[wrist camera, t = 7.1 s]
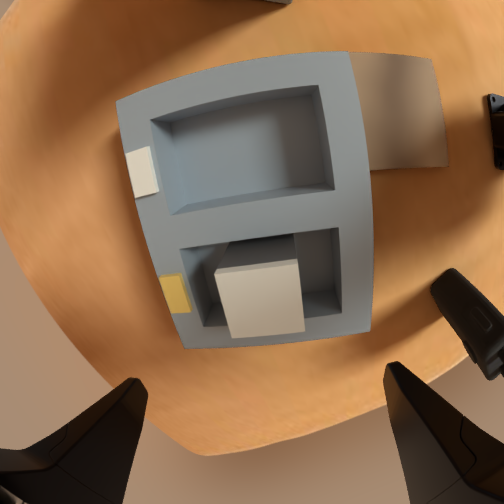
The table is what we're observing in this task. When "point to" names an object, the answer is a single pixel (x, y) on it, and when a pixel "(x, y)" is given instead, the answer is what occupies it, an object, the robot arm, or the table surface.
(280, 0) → the hard drive box
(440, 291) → the walkie-talkie
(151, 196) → the dock
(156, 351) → the table surface
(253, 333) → the plug
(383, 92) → the brown flat square plate
